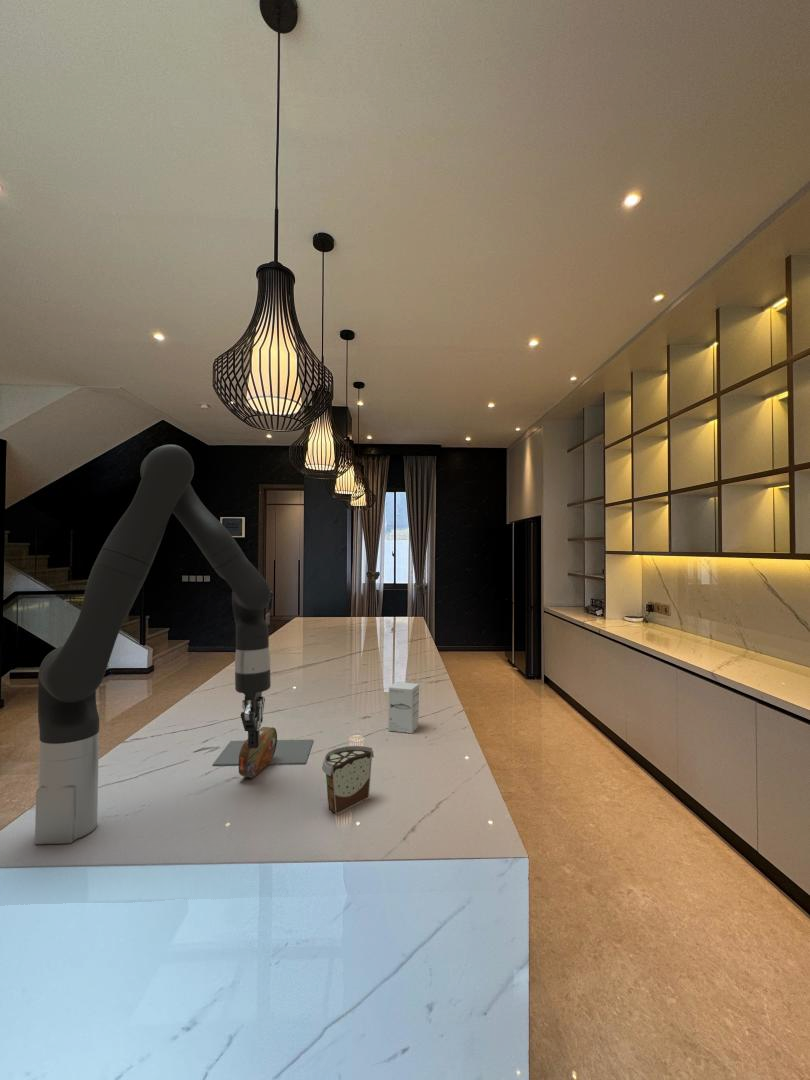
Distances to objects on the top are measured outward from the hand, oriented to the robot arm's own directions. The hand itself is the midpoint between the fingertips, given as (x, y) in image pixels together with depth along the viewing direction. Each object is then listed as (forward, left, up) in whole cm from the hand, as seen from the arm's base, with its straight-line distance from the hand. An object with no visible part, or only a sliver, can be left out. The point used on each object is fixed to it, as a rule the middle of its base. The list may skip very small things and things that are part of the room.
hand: (254, 746), depth 117 cm
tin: (+7, +1, -8) cm, 10 cm away
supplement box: (+35, -35, -8) cm, 50 cm away
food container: (-10, -20, -8) cm, 24 cm away
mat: (+18, +1, -8) cm, 20 cm away
